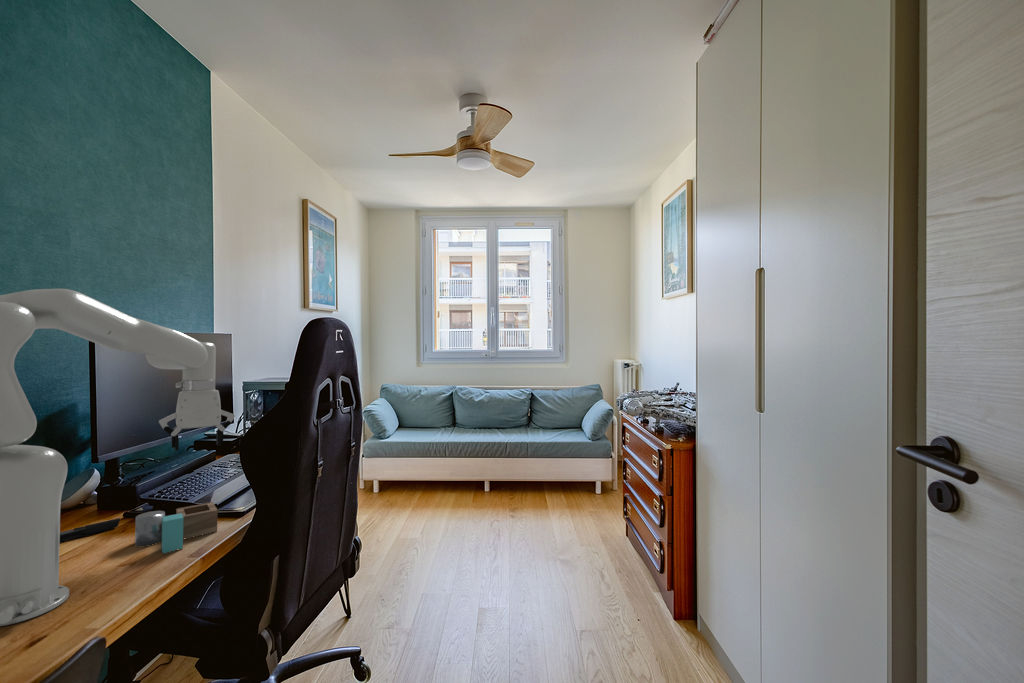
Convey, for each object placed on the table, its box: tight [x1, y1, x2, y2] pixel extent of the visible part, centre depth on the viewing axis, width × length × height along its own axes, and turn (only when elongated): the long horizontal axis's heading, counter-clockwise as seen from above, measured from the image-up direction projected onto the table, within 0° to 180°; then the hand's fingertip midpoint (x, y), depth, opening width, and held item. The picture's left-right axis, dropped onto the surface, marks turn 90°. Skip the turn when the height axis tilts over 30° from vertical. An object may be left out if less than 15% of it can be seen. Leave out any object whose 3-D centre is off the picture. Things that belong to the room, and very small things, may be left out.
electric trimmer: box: [60, 517, 121, 543], centre depth 119 cm, size 4×16×3 cm, turn 143°
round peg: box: [134, 510, 166, 547], centre depth 116 cm, size 6×6×7 cm
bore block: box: [175, 501, 219, 540], centre depth 122 cm, size 8×8×6 cm
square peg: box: [161, 513, 184, 554], centre depth 112 cm, size 4×4×8 cm
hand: (197, 447), depth 123 cm, fingers open, 9 cm apart
